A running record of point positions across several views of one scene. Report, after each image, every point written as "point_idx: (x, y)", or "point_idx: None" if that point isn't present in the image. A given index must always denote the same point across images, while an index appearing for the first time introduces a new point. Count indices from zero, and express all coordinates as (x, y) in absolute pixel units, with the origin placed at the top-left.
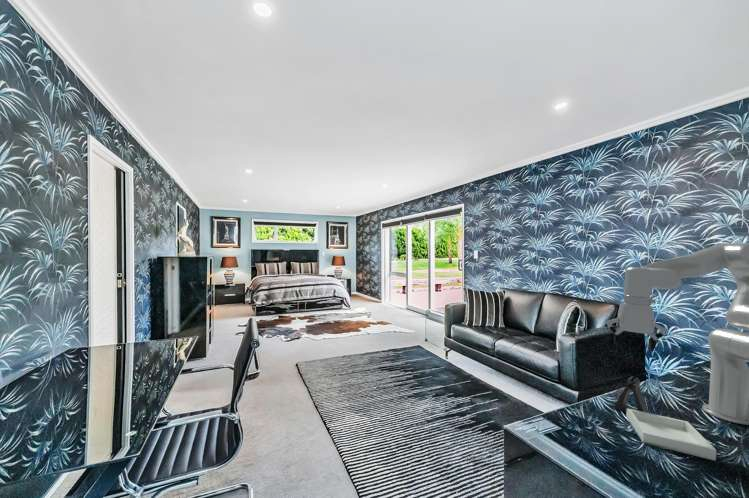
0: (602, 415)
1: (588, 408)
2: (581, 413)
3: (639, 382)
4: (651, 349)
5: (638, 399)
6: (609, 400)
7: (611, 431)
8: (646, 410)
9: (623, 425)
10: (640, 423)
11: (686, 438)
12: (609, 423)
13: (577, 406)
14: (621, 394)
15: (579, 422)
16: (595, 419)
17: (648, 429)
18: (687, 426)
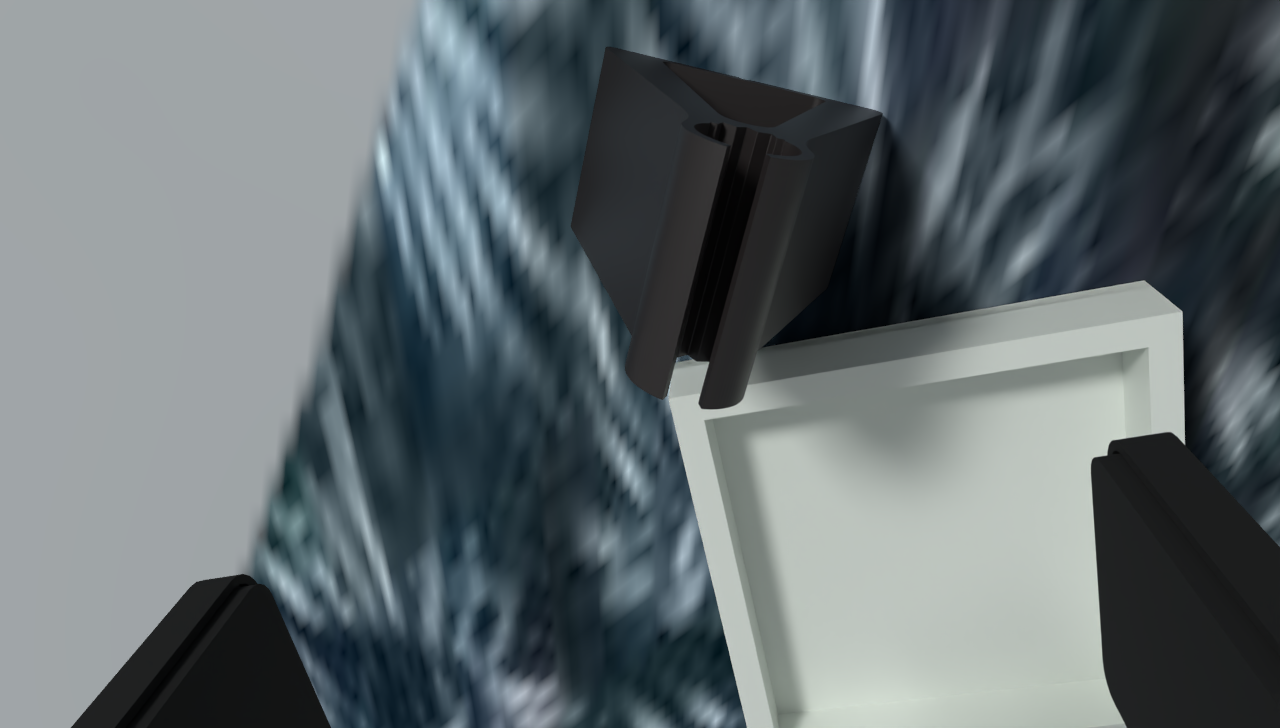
0: (503, 478)
1: (389, 415)
2: (367, 556)
3: (803, 193)
4: (1130, 716)
5: (772, 334)
6: (519, 13)
7: (581, 699)
8: (853, 180)
9: (651, 552)
10: (755, 649)
11: (1070, 507)
12: (561, 588)
13: (310, 440)
14: (609, 292)
15: (391, 707)
16: (469, 589)
17: (816, 540)
18: (1143, 391)
